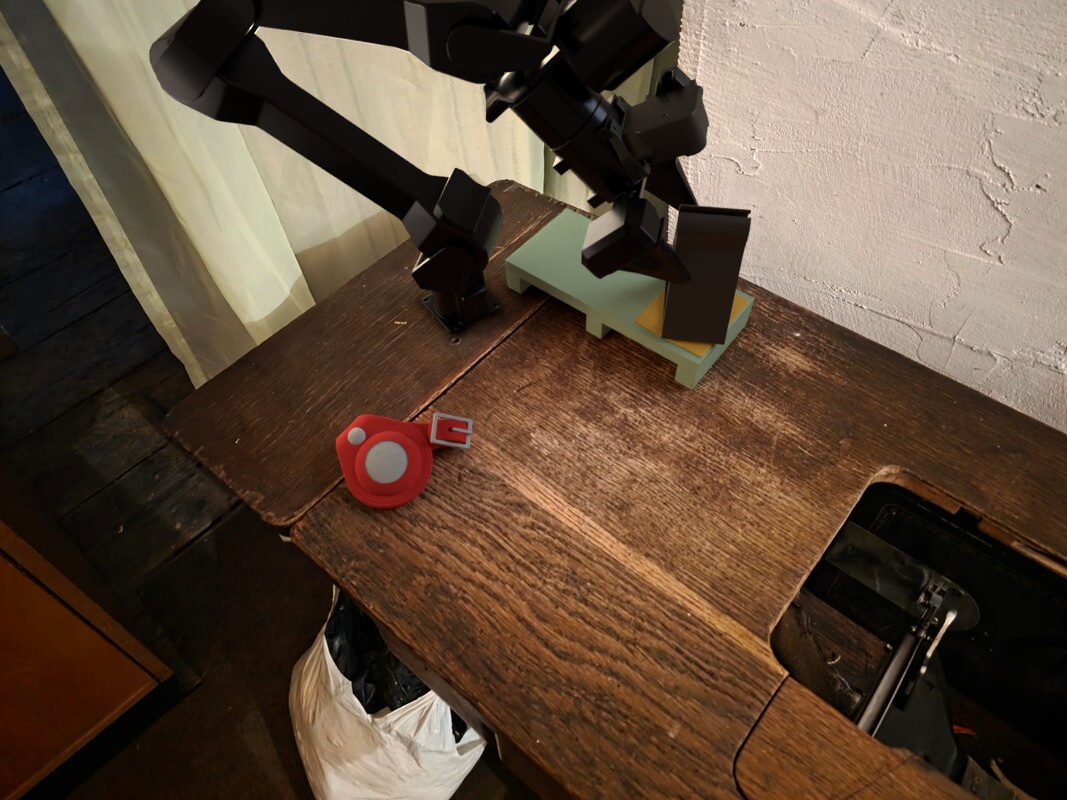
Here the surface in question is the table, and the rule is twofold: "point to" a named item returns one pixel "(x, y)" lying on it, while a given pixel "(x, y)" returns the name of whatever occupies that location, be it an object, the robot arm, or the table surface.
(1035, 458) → the table surface
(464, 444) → the red tape measure
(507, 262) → the shoe shelf
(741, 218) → the phone stand
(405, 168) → the robot arm
